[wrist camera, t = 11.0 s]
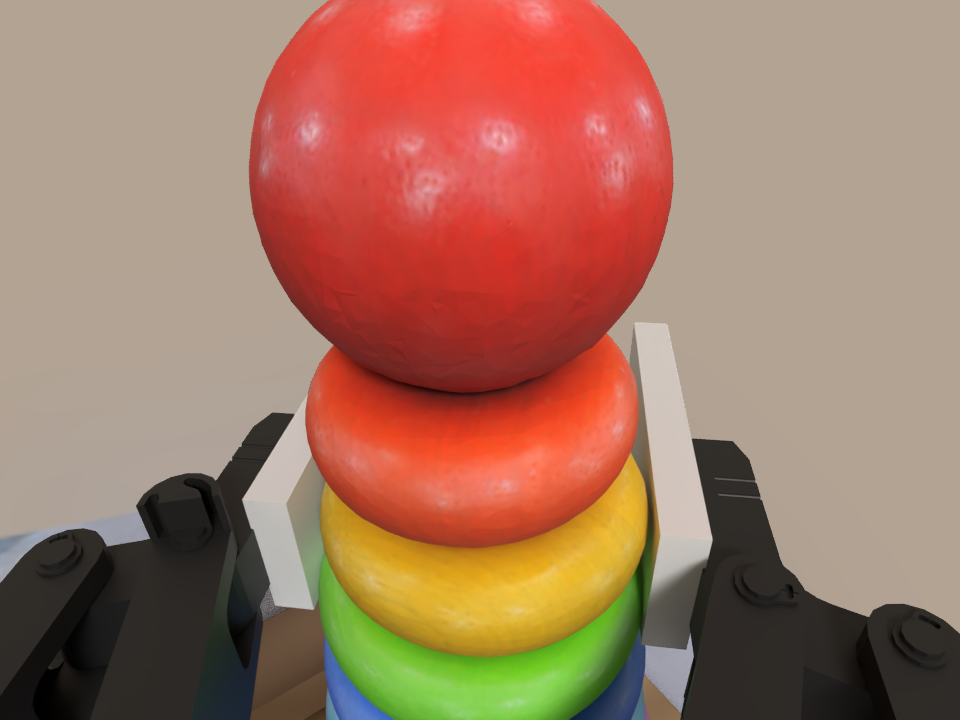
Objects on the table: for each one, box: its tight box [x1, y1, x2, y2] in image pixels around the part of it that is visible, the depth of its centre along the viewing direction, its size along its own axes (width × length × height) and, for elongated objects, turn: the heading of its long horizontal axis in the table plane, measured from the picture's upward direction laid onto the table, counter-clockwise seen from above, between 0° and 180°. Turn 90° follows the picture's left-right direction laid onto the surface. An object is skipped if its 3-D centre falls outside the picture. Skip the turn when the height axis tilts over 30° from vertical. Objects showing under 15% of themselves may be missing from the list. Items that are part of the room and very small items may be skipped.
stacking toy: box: [249, 0, 673, 720], centre depth 12 cm, size 8×8×19 cm
